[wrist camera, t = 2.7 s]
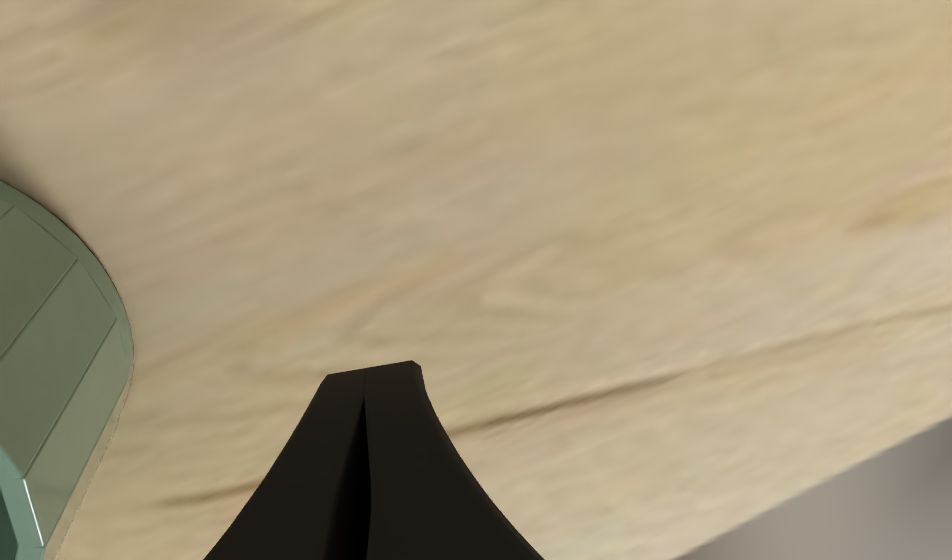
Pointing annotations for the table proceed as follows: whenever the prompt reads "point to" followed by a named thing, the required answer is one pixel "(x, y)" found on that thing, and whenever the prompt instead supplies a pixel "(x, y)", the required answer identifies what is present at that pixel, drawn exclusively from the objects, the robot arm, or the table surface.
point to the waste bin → (53, 375)
